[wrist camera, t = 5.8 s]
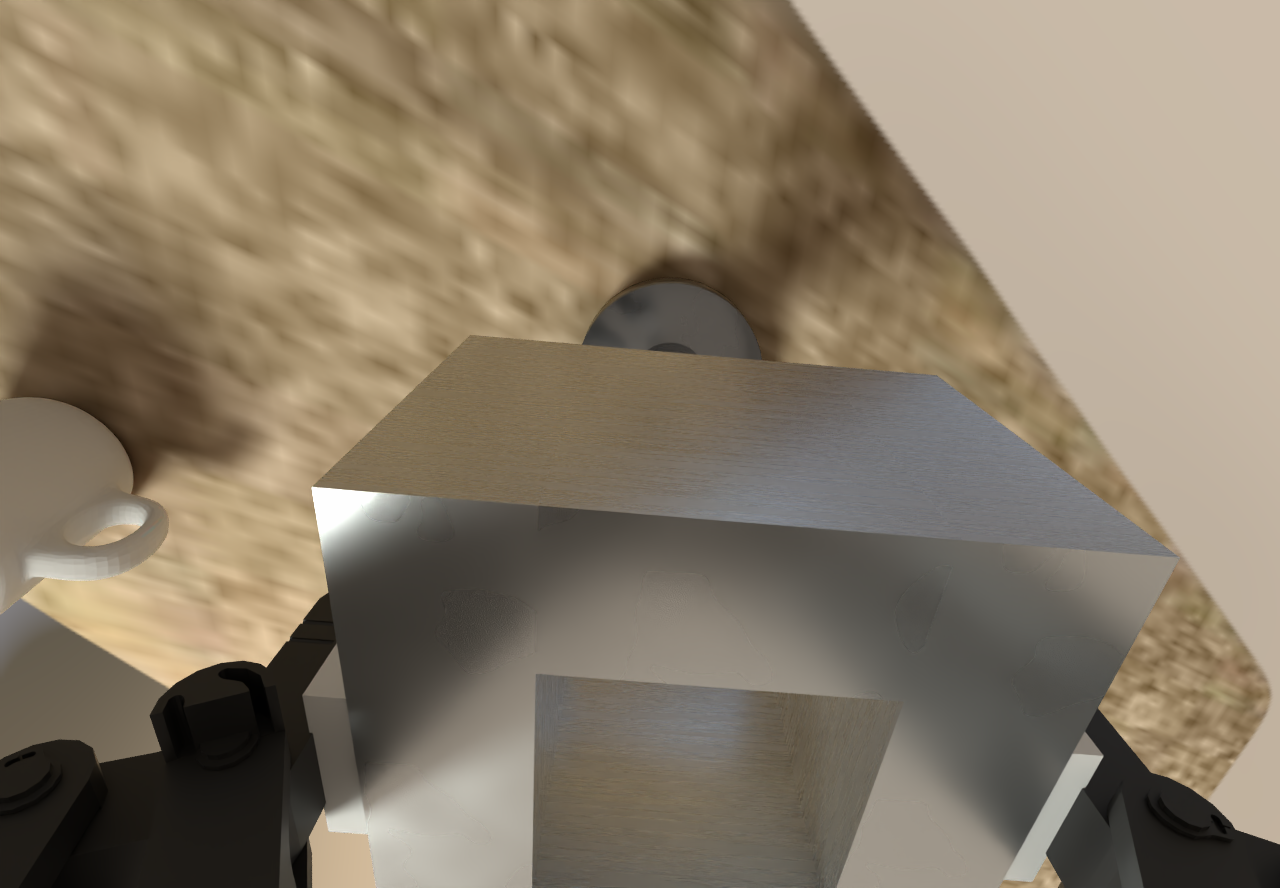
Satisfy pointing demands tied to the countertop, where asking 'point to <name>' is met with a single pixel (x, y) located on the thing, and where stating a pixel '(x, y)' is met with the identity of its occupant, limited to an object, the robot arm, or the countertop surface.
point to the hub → (674, 321)
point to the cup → (66, 498)
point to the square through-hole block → (713, 623)
